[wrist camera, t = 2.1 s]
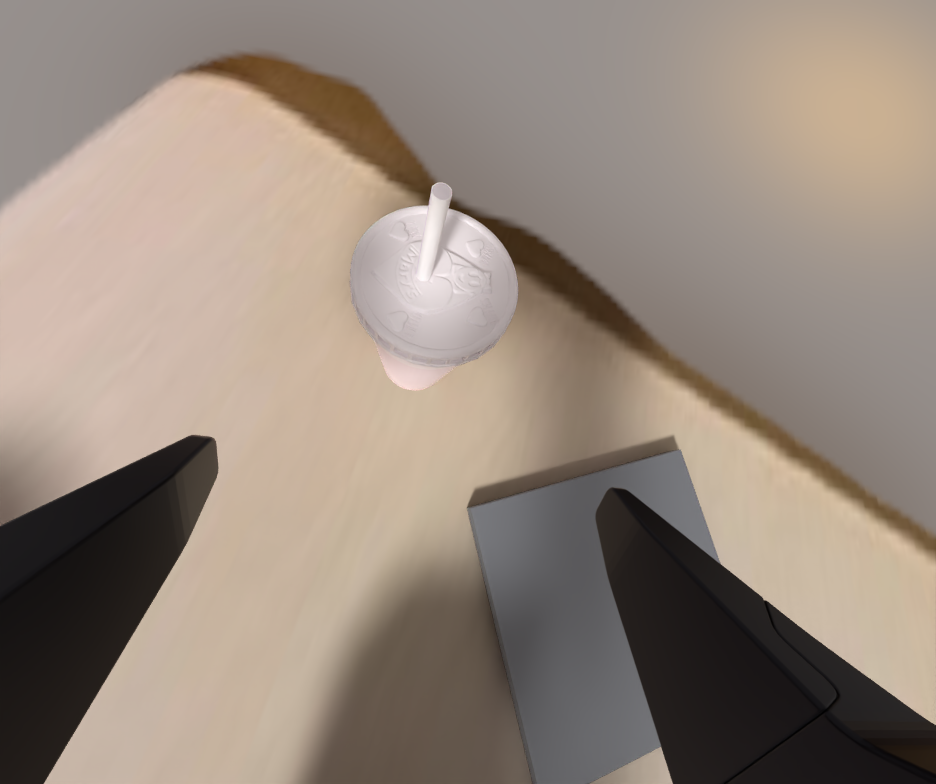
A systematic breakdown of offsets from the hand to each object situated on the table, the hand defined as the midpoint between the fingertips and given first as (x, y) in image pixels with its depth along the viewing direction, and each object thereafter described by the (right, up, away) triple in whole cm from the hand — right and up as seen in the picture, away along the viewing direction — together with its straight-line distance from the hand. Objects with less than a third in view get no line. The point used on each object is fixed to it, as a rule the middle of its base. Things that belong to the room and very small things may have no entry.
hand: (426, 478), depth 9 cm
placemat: (+9, -10, +14) cm, 19 cm away
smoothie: (-2, +4, +15) cm, 16 cm away
